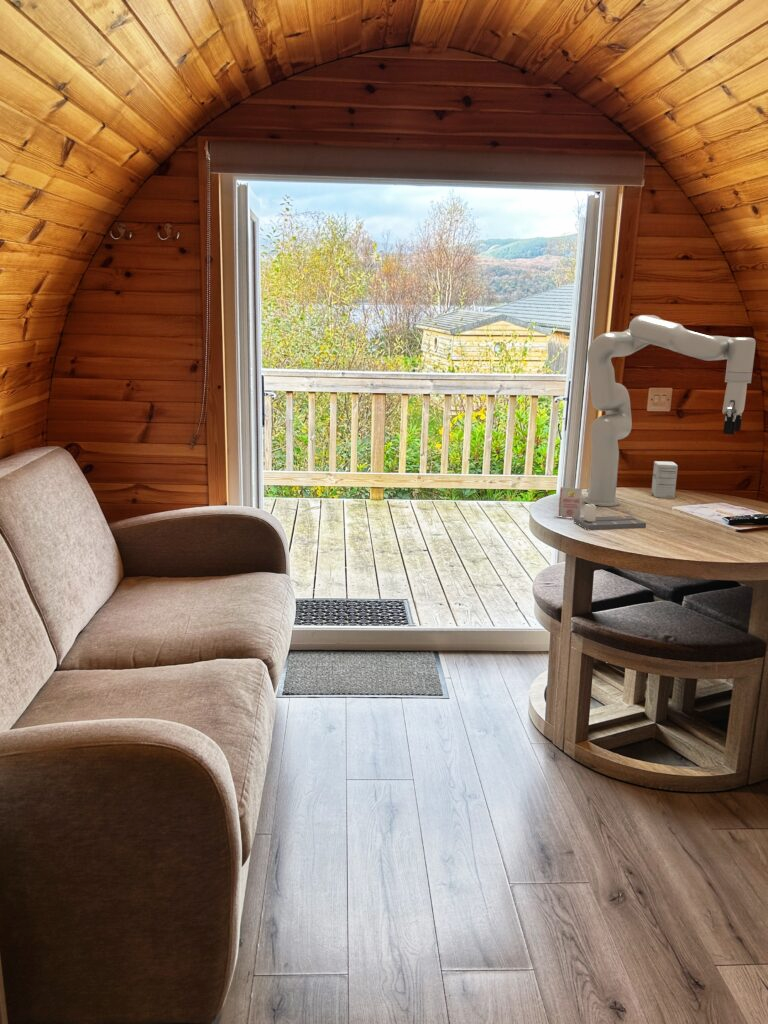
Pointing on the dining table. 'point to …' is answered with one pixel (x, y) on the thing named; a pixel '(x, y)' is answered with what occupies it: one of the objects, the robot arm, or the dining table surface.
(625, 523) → the fader board
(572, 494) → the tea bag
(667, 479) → the supplement box
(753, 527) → the dining table surface
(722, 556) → the dining table surface
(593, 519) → the fader knob
